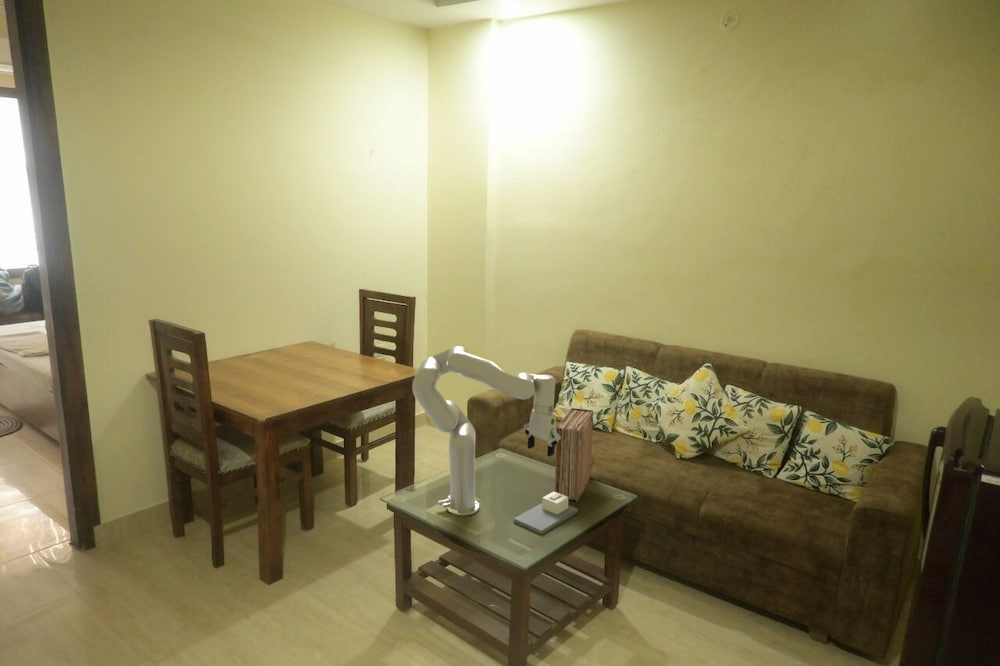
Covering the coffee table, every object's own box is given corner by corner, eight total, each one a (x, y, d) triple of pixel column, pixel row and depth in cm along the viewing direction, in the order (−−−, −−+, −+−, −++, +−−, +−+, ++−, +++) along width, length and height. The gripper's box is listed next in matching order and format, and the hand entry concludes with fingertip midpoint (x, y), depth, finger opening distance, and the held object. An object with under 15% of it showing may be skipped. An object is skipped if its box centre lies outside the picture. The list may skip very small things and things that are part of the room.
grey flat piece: (541, 534, 218) (541, 517, 216) (513, 522, 226) (513, 505, 225) (577, 512, 233) (578, 496, 232) (550, 501, 242) (551, 486, 241)
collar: (556, 514, 229) (557, 503, 228) (542, 508, 233) (542, 497, 232) (568, 507, 234) (568, 496, 233) (553, 502, 238) (553, 491, 237)
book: (577, 502, 241) (579, 430, 235) (554, 498, 244) (555, 427, 238) (591, 476, 264) (593, 410, 258) (570, 473, 268) (571, 407, 262)
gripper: (568, 412, 226) (564, 456, 229) (532, 400, 237) (529, 442, 241) (555, 416, 220) (552, 461, 224) (519, 404, 232) (516, 447, 235)
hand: (540, 451), depth 232 cm, fingers open, 9 cm apart
